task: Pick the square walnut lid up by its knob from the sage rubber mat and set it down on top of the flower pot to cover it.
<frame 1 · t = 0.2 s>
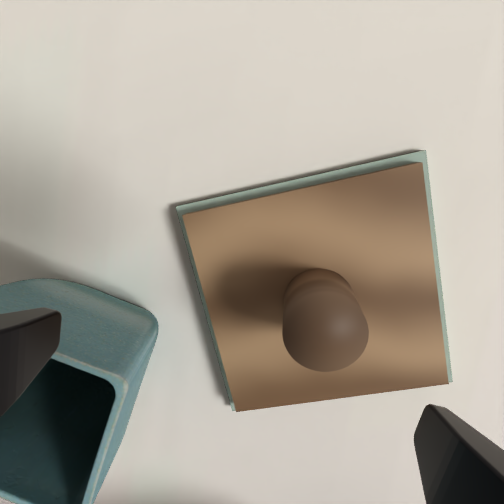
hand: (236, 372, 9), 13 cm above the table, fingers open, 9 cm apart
lid: (317, 296, 22), resting on mat
mat: (316, 293, 22), on the table
flower pot: (109, 328, 25), on the table
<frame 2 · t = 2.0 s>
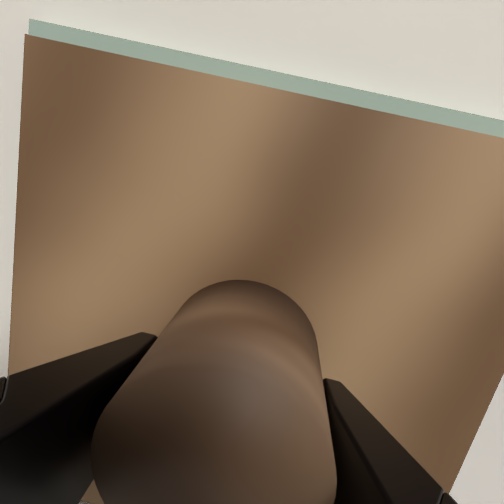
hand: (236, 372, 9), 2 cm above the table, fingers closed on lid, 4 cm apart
lid: (245, 337, 10), resting on mat, touching gripper
mat: (247, 329, 11), on the table
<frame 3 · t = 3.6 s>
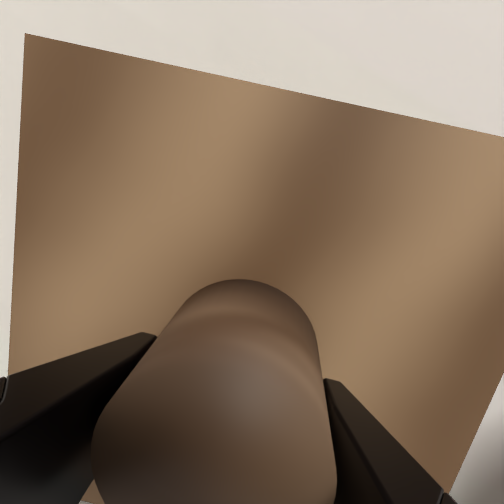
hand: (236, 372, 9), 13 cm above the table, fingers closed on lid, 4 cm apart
lid: (245, 336, 10), point 11 cm above the table, touching gripper
when the fingers open (12 cm above the table, at t = 5.0 s): lid drops 1 cm, resting on flower pot.
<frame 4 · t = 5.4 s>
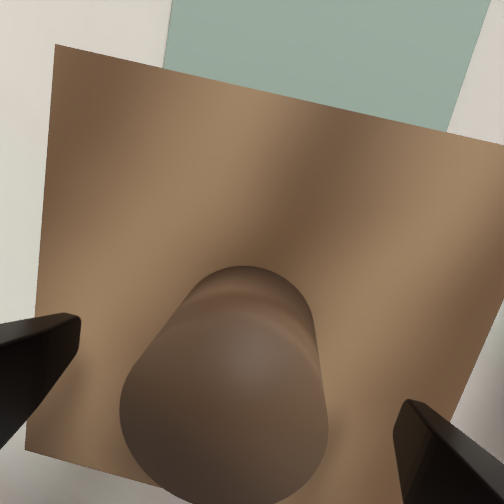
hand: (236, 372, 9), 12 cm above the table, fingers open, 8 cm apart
lid: (248, 319, 12), point 9 cm above the table, touching flower pot
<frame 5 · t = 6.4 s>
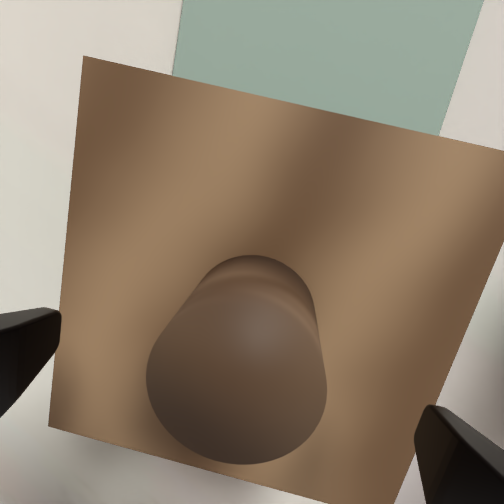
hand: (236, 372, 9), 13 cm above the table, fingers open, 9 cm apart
lid: (255, 305, 13), point 9 cm above the table, touching flower pot
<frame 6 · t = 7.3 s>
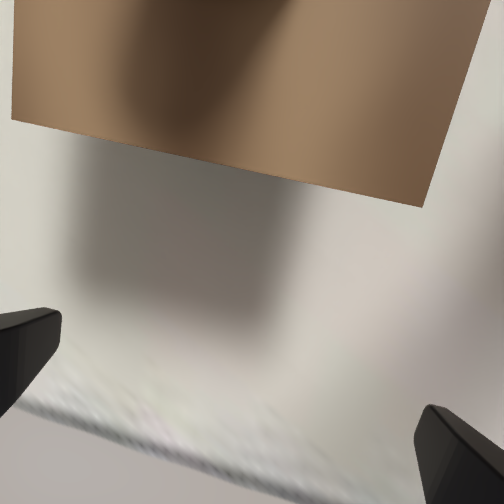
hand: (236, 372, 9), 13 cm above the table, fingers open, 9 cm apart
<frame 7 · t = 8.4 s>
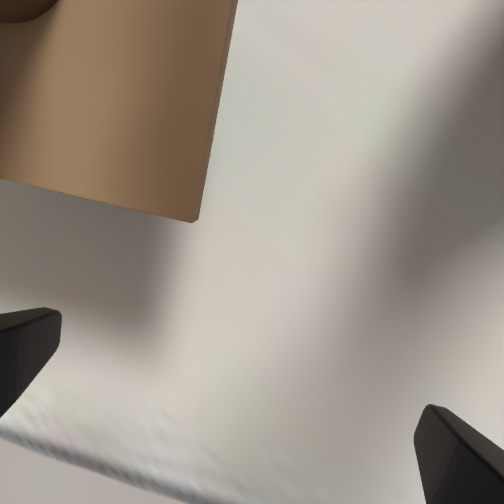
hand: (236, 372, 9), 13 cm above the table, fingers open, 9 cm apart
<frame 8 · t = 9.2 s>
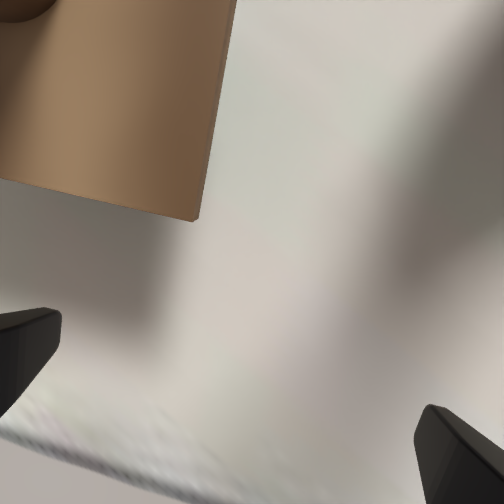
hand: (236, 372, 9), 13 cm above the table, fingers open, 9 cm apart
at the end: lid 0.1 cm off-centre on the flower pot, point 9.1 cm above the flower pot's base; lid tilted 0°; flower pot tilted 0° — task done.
